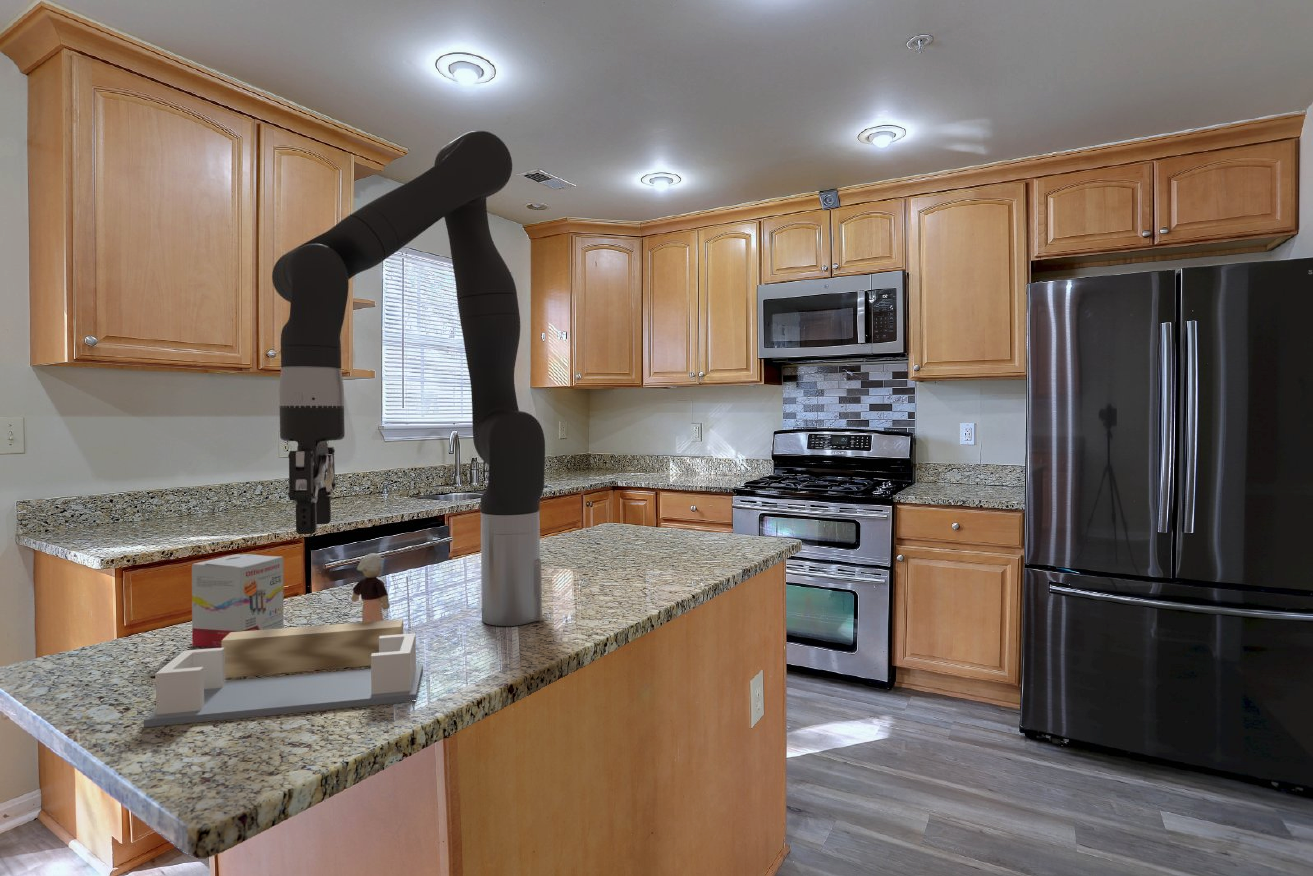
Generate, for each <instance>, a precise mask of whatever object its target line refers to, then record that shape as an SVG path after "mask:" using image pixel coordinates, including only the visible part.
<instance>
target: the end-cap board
mask: <svg viewBox="0 0 1313 876" xmlns="http://www.w3.org/2000/svg"><path fill="white" fill-rule="evenodd" d="M416 635H417V634H416V633H415V632H414V633H403V634H398V635H385V636H380V637H379V653H372V655H371V665H370V668H364V669H362V668H360V669H349V670H339V671H326V672H315V673H304V674H293V675H291V674H290V675H279V676H269V677H267V676H266V677H258V678H257V677H255V678H246V679H245V678H244V679H235V680H234V679H233V680H226V678H225V648H219V647H211V648H201V649H188V650H187V649H186V650H183V651H181V653H179V654H178V655H177V656H176V657H174V658H173V659H171V661H169V662H168V663H167V664H166V665H165V666H163V667H161V669H159V670H158V671H157V672H156V673H154V674H155V675H154V676H155V709H154V710H152V712H151V713H150V714H149V715H147V716H146V717H145V718H144V719H143V728H151V727H153V728H154V727H163V726H174V725H183V724H192V723H193V724H195V723H204V722H206V723H207V722H214V721H223V720H233V719H234V720H236V719H245V718H255V717H267V716H274V715H275V716H276V715H286V714H296V713H308V712H316V711H327V710H328V711H329V710H337V709H338V710H339V709H347V708H357V707H368V706H379V705H389V704H390V705H391V704H400V703H407V702H406V701H411V702H413V701H412V700H416V701H417V699H416V698H418V693H419V689H420V685H421V680H422V675H423V671H424V669H423V667H424V665H423V663H419V664H417V648H416V647H417V646H416V645H417V643H416V640H417V638H416V637H417V636H416Z"/></svg>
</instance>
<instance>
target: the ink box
mask: <svg viewBox="0 0 1313 876" xmlns="http://www.w3.org/2000/svg"><path fill="white" fill-rule="evenodd" d="M191 619H192V620H191V624H192V625H191V628H192V629H191V630H192V631H191V635H192V636H191V637H192V638H191V639H192V640H191V641H192V645H193V646H195V647H209V648H222V644H221V641H222V640H223V639H224V638H225V637H226V636H227V635H228V634H229V633H230V632H241V631H254V630H267V629H281V628H285V627H284V626H285V625H284V556H276V555H260V554H253V553H251V554H250V553H245V554H244V553H243V554H242V553H241V554H240V553H237V554H231V555H227V556H223V557H218V558H215V559H210V560H209V559H208V560H205V561H204V560H203V561H199V562H196V563H192V565H191Z"/></svg>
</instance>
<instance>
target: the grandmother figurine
mask: <svg viewBox="0 0 1313 876" xmlns="http://www.w3.org/2000/svg"><path fill="white" fill-rule="evenodd" d="M382 562H383V559H382V556H381V554H378V553H374V552H373V553H369V554H367V555H365V556H364V557H363V558H362V559H361V560H360V561H359V563H358V566H357V568H356V570H357V571H360V572H362V574H363V576H364V577H363V578H362V579H360V580H359V581H358V582H357V583H356V584H355V585H354V586H353V587H352V596H351V599H350V600H351V601H352V602H354V603H356V602H358V601H359V599H361V601H362V609H361V611H362V616H361V617H362V618H361V619H362V621H361V622H374V621H384V616H383V612H382V611H383V610H388V609H390V607H391V605H390V602H389V595H388V591H387V589H386V585H385V583H384V581H383V580H381V579H380V578H378V577H379V576H380V575H381V573H382V568H383V567H382V565H381V564H382Z"/></svg>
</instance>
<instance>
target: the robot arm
mask: <svg viewBox="0 0 1313 876" xmlns="http://www.w3.org/2000/svg"><path fill="white" fill-rule="evenodd" d="M435 156H436V157H435V160H434V165H433V166H432V167H431V168H430V169H428V170H427V171H424V172H423V173H421V174H419V175H418V176H416V177H415V178H413V179H411V180H409V181H408V182H406V183H404V184H402V185H400V186H399V187H396V188H394V189H392V190H390V191H389V192H386V193H385V194H382V195H381V196H378V197H377V198H375V199H373V200H372V201H370V202H368V203H367V204H365V205H363V206H361V207H360V208H358V209H357V210H355V211H354V212H352V213H351V214H349V215H347V216H346V217H345V218H343V219H341V220H340V221H339V222H337V224H335V225H334V226H333V227H331V228H330V229H329V230H327V231H325V232H323V233H322V234H319V235H317V236H316V237H314V238H311V239H309V240H308V241H306V242H304V243H303V244H300V245H298V246H297V247H295V248H293V249H292V250H290V251H288V252H286V253H285V254H283V255H282V256H280V258H278V259H277V261H276V263H275V264H274V266H273V267H272V274H271V280H272V285H273V287H274V289H275V291H276V293H277V294H278V295H279V296H280V297H281V298H282V299H284V300H285V301H286V302H289V304H290V307H289V308H290V309H289V317H288V320H287V322H286V323H285V324H284V325H283V327H282V328H281V332H280V367H281V368H280V376H279V385H278V386H279V387H278V396H279V400H278V401H279V403H278V404H279V407H278V408H279V437H280V439H281V441H284V442H296V443H297V447H296V450H289V453H288V499H289V501H292V502H293V504H294V505H295V531H296V534H298V535H313V534H315V533H317V530H318V525H328V524H330V523H331V521H332V503H331V502H332V501H331V500H332V499H331V497H332V495H333V493H334V490H335V488H336V486H337V485H336V477H335V475H336V474H335V470H336V469H335V451H336V450H335V447H334V446H329V445H328V442H329V441H331V442H332V441H341V440H343V439H344V438H345V435H346V434H345V433H346V432H345V387H344V379H343V373H342V343H341V341H342V340H341V334H342V328H343V324H344V321H345V316H346V315H345V314H346V309H347V302H348V297H349V280H351V279H352V278H353V277H355V276H357V275H358V274H360V273H362V272H365V271H368V270H370V269H372V268H375V267H376V266H378V265H380V264H381V263H383V261H385V260H387V259H388V258H389V257H391V256H392V255H394V254H395V253H397V252H398V251H400V250H401V249H402V248H404V247H405V246H406V245H408V244H409V243H411V242H412V241H413V240H414V239H416V238H417V237H419V236H420V235H421V234H422V233H424V232H425V231H427V230H428V229H429V228H430V227H432V226H433V225H434V224H436V223H437V222H438V221H440V220H442V219H443V218H444V221H445V225H446V230H447V234H448V240H449V241H448V242H449V248H450V256H451V262H452V268H453V275H454V282H455V290H456V300H457V307H458V308H457V309H458V315H459V320H460V327H461V333H462V338H463V346H464V352H465V358H466V364H467V370H468V376H469V380H470V381H469V383H470V390H471V391H470V392H471V409H472V410H471V415H472V416H471V417H472V418H471V420H472V421H471V423H472V439H473V441H472V442H473V446H474V447H475V448H474V449H475V450H476V453H477V455H478V456H479V457H480V459H481V460H482V461H483V462H484V463H485V464H487V465H488V482H487V487H486V489H485V491H484V492H483V493H482V494H481V495H480V565H481V566H480V569H481V571H480V574H481V575H480V583H481V584H480V585H481V592H480V593H481V620H482V622H483V623H484V624H487V625H489V626H490V625H491V626H497V627H498V626H499V627H502V626H503V627H511V626H512V627H513V626H520V625H521V626H522V625H526V624H530V623H533V622H541V621H543V611H542V610H543V609H542V608H543V605H542V603H543V600H542V599H543V598H542V597H543V595H542V591H543V587H542V584H543V583H542V577H543V576H542V559H541V536H540V535H541V532H540V530H541V529H540V528H541V527H540V525H541V524H540V522H541V520H540V507H541V506H540V503H541V502H540V501H541V499H542V495H543V493H544V488H545V476H546V475H545V471H546V470H545V468H546V439H545V433H544V429H543V427H542V425H541V423H540V421H539V420H538V419H537V418H536V417H535V416H534V415H532V414H531V413H528V412H525V411H521V410H519V406H518V405H519V404H518V399H517V392H516V387H515V385H516V384H515V368H516V363H517V357H518V350H519V345H520V344H519V343H520V338H521V315H520V307H519V301H518V300H519V299H518V292H517V287H516V282H515V280H514V278H513V275H512V273H511V270H510V269H509V267H508V265H507V264H506V261H504V259H503V256H502V255H501V254H500V252H499V250H498V249H497V247H496V245H495V243H494V241H493V237H492V234H491V230H490V225H489V217H488V211H487V210H488V208H487V198H488V197H490V196H493V195H495V194H497V193H498V192H500V191H501V190H502V189H504V188H505V186H506V185H507V184H508V182H509V181H510V178H511V176H512V173H513V159H512V157H511V152H510V151H509V148H508V147H507V145H506V144H505V142H504V141H503V140H502V139H501V138H500V137H499V136H498V135H496V134H494V133H491V132H490V131H485V130H474V131H468V132H466V133H464V134H462V135H460V136H459V137H457V138H455V139H454V140H452V141H450V142H449V143H447V144H445V145H444V146H442V148H441V149H440V150H439V151H438V153H437V154H436V155H435Z"/></svg>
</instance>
